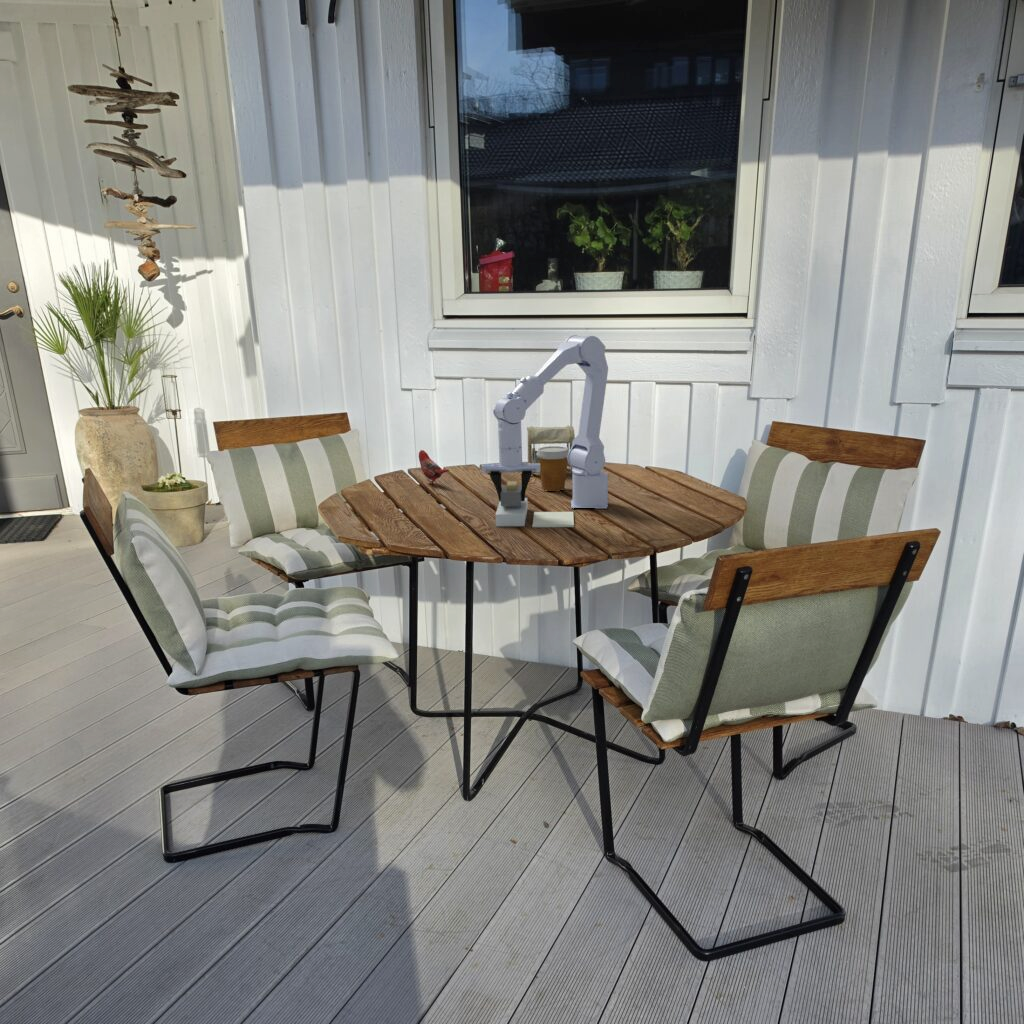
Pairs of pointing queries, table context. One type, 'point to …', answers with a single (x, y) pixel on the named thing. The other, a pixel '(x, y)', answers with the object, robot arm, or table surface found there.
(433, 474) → the decorative bird figurine
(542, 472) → the disposable coffee cup
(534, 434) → the swing bench
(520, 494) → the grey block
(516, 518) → the white rectangular block
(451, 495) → the table surface
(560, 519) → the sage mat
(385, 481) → the table surface
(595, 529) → the table surface
